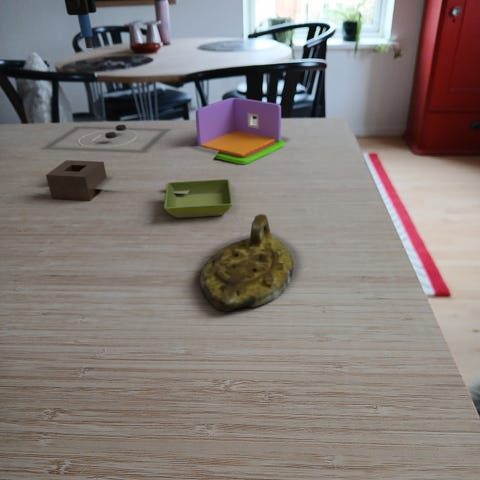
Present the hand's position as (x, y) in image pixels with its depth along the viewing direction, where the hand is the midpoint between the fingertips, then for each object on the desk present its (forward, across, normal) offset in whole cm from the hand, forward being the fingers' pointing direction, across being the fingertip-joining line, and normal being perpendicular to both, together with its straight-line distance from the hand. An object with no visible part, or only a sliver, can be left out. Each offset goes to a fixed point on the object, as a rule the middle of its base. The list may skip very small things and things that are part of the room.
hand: (82, 12), depth 74 cm
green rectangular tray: (+21, +17, +22) cm, 35 cm away
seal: (+21, +33, +32) cm, 51 cm away
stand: (+21, +15, +2) cm, 26 cm away
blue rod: (+5, 0, 0) cm, 5 cm away
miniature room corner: (+21, -7, +21) cm, 31 cm away
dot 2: (+20, -8, -1) cm, 22 cm away
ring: (+21, -6, -3) cm, 22 cm away
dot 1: (+20, -4, -1) cm, 20 cm away
